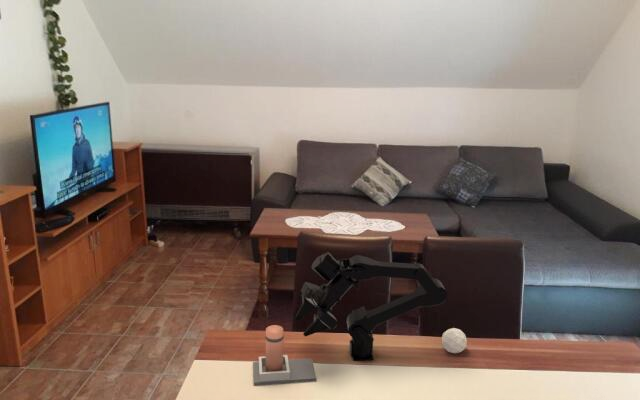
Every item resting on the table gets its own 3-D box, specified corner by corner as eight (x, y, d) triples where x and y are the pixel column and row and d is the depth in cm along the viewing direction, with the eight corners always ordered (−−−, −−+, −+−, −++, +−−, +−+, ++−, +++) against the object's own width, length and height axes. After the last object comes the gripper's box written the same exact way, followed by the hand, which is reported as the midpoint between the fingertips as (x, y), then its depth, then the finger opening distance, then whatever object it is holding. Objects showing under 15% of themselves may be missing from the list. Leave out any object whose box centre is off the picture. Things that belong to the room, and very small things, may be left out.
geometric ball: (454, 355, 165) (466, 333, 166) (461, 360, 157) (474, 338, 158) (434, 342, 166) (446, 321, 166) (441, 347, 158) (454, 325, 158)
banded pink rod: (282, 365, 151) (283, 324, 147) (283, 376, 146) (284, 334, 142) (264, 366, 151) (265, 325, 146) (265, 377, 146) (265, 335, 142)
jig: (311, 361, 156) (312, 351, 155) (316, 381, 146) (316, 370, 145) (253, 364, 153) (252, 354, 152) (253, 385, 144) (253, 375, 143)
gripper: (308, 262, 157) (274, 298, 157) (328, 288, 140) (289, 329, 140) (331, 282, 162) (298, 317, 162) (353, 309, 145) (316, 349, 145)
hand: (299, 327), depth 152 cm, fingers open, 9 cm apart
